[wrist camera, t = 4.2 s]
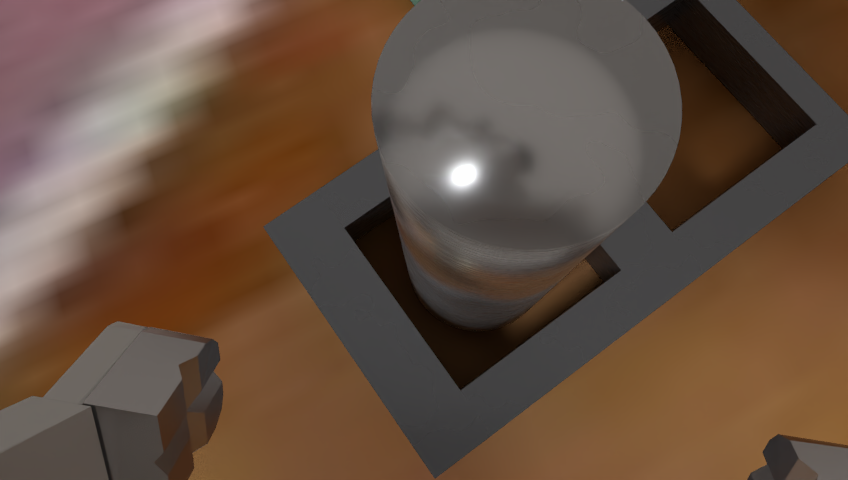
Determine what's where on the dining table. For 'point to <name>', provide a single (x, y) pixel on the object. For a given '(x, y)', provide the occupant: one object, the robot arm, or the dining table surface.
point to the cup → (518, 143)
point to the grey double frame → (612, 260)
